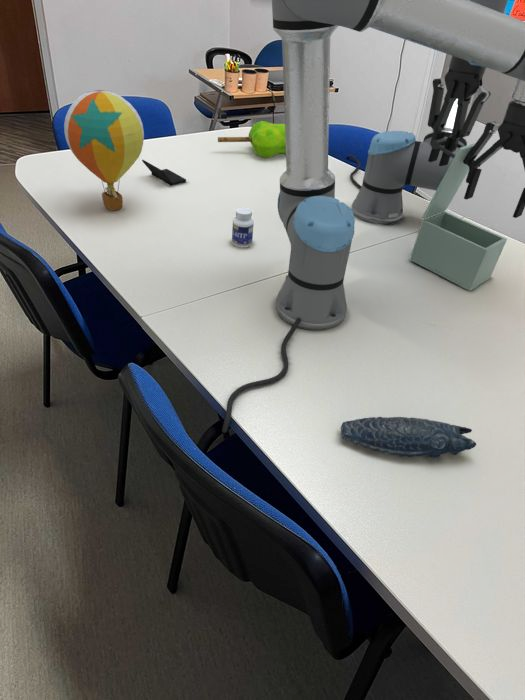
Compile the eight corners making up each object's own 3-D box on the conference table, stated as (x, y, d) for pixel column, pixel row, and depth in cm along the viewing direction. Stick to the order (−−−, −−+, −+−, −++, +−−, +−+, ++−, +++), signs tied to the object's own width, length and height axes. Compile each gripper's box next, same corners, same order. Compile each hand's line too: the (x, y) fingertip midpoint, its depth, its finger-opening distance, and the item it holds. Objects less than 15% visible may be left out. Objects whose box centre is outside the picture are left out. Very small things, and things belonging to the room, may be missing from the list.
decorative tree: (215, 117, 188) (295, 117, 193) (215, 147, 195) (292, 146, 200) (221, 131, 174) (307, 131, 180) (221, 163, 181) (304, 161, 186)
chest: (489, 278, 130) (507, 238, 123) (469, 291, 124) (486, 250, 117) (431, 249, 139) (444, 210, 132) (409, 259, 133) (422, 220, 126)
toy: (64, 203, 145) (44, 85, 127) (127, 189, 156) (117, 79, 137) (97, 229, 134) (80, 105, 116) (162, 213, 145) (156, 96, 126)
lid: (484, 142, 118) (457, 125, 122) (462, 149, 113) (434, 131, 116) (446, 210, 132) (422, 193, 135) (424, 219, 126) (399, 201, 129)
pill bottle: (228, 244, 133) (229, 212, 128) (236, 236, 137) (237, 204, 132) (247, 249, 132) (249, 216, 126) (255, 241, 136) (257, 209, 130)
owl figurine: (474, 470, 81) (484, 449, 78) (339, 453, 82) (344, 431, 79) (465, 439, 86) (475, 417, 83) (339, 423, 87) (344, 401, 84)
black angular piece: (190, 175, 164) (173, 153, 156) (179, 193, 163) (161, 172, 155) (166, 170, 170) (147, 148, 162) (155, 188, 169) (136, 167, 161)
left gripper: (597, 115, 100) (550, 221, 113) (485, 88, 113) (454, 186, 126) (582, 119, 95) (534, 229, 109) (467, 91, 109) (437, 192, 122)
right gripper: (514, 57, 106) (474, 170, 121) (450, 42, 115) (420, 150, 129) (497, 59, 102) (457, 176, 117) (431, 43, 110) (402, 155, 125)
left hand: (491, 206), depth 117 cm, fingers open, 11 cm apart
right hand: (437, 162), depth 123 cm, fingers open, 2 cm apart
